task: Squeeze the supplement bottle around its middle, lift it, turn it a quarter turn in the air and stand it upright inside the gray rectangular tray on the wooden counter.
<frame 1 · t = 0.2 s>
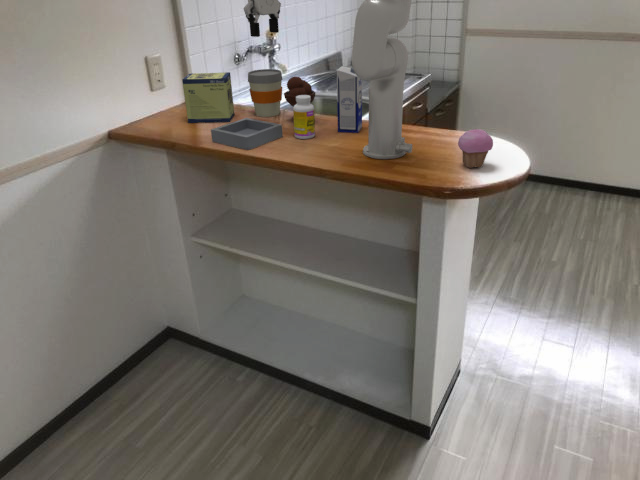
hand: (265, 34, 168), 30 cm above the countertop, tool pointing down, fingers open, 9 cm apart
ice cream bowl: (301, 120, 193), on the countertop
milk carton: (350, 130, 180), on the countertop
cupcake: (472, 167, 146), on the countertop
supplement bottle: (304, 137, 175), on the countertop
gray rectangular tray: (247, 139, 174), on the countertop
reusable coffee cup: (267, 114, 202), on the countertop
protein box: (212, 119, 198), on the countertop
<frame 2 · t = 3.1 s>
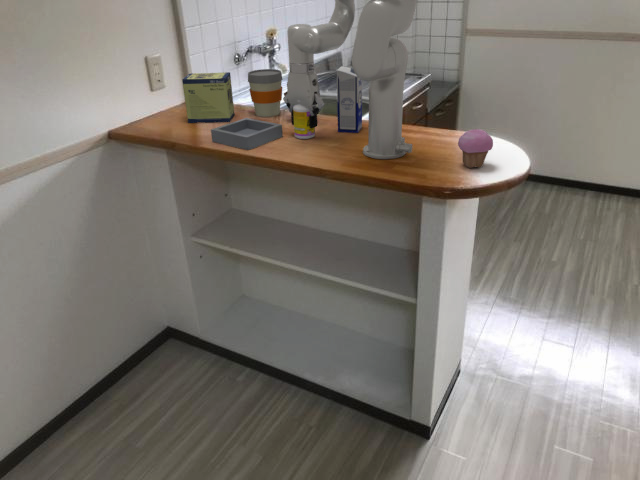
hand: (304, 125, 173), 4 cm above the countertop, tool pointing down, fingers closed on supplement bottle, 6 cm apart
supplement bottle: (304, 137, 175), on the countertop, touching gripper
everything else where it was.
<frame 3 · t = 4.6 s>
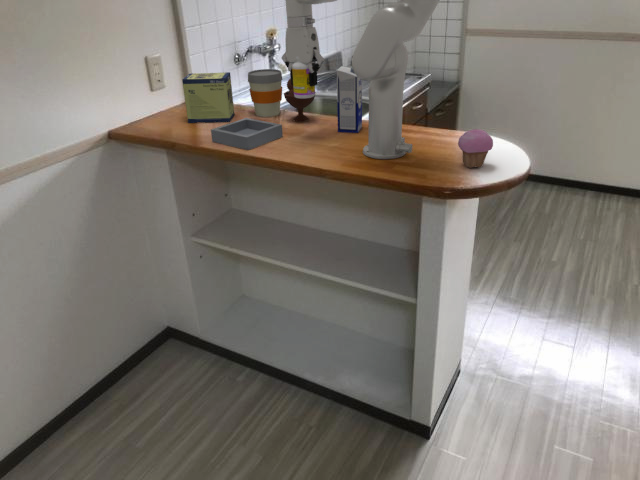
hand: (304, 84, 167), 17 cm above the countertop, tool pointing down, fingers closed on supplement bottle, 6 cm apart
supplement bottle: (305, 97, 168), point 13 cm above the countertop, touching gripper
everything else where it was.
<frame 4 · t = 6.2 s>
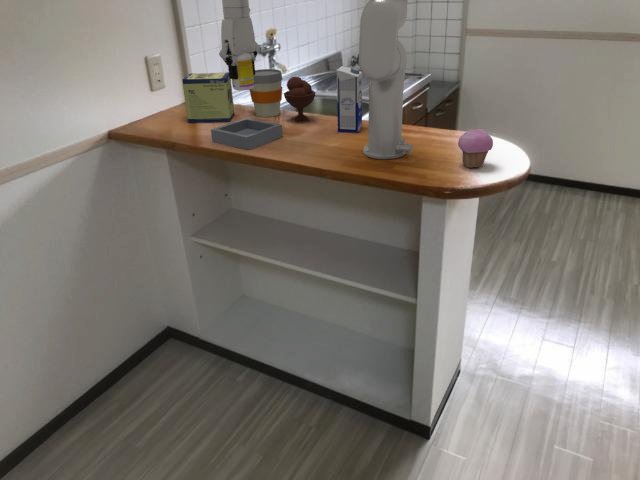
hand: (242, 76, 165), 20 cm above the countertop, tool pointing down, fingers closed on supplement bottle, 6 cm apart
supplement bottle: (243, 89, 167), point 16 cm above the countertop, touching gripper
everything else where it was.
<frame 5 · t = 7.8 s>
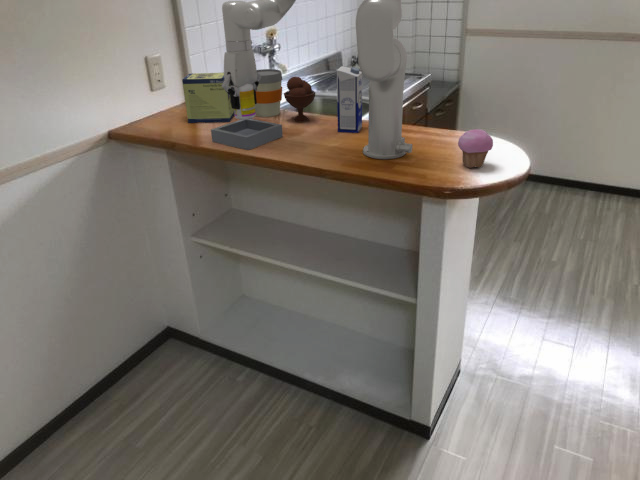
hand: (244, 105, 169), 11 cm above the countertop, tool pointing down, fingers closed on supplement bottle, 6 cm apart
supplement bottle: (245, 118, 171), point 7 cm above the countertop, touching gripper
everything else where it was.
when the fingers open (6 cm above the countertop, at t = 9.2 s): supplement bottle drops 2 cm, resting on gray rectangular tray.
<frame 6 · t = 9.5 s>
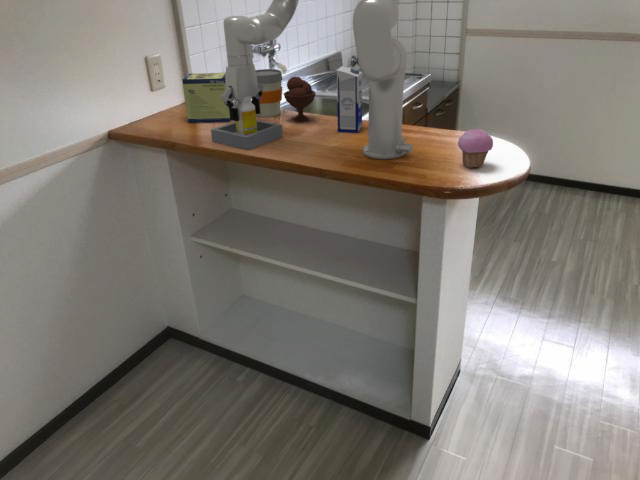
hand: (245, 116, 171), 7 cm above the countertop, tool pointing down, fingers open, 9 cm apart
supplement bottle: (247, 136, 174), point 1 cm above the countertop, touching gray rectangular tray
everything else where it was.
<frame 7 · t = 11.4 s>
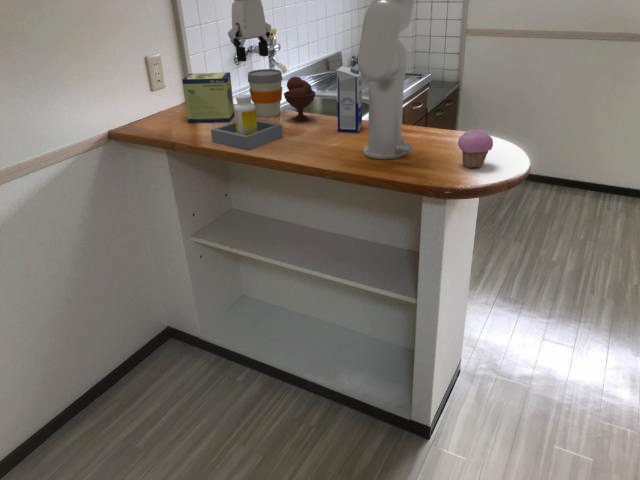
hand: (253, 58, 163), 25 cm above the countertop, tool pointing down, fingers open, 9 cm apart
nothing on the countertop moved.
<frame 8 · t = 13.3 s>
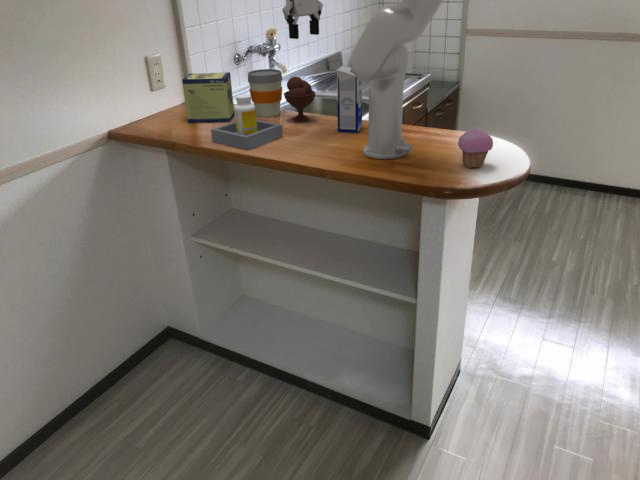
hand: (304, 36, 162), 30 cm above the countertop, tool pointing down, fingers open, 9 cm apart
nothing on the countertop moved.
at the end: supplement bottle inside the target area on the gray rectangular tray (0.3 cm from its centre), point 0.8 cm above the gray rectangular tray's base; supplement bottle tilted 0°; the gripper is holding nothing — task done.
